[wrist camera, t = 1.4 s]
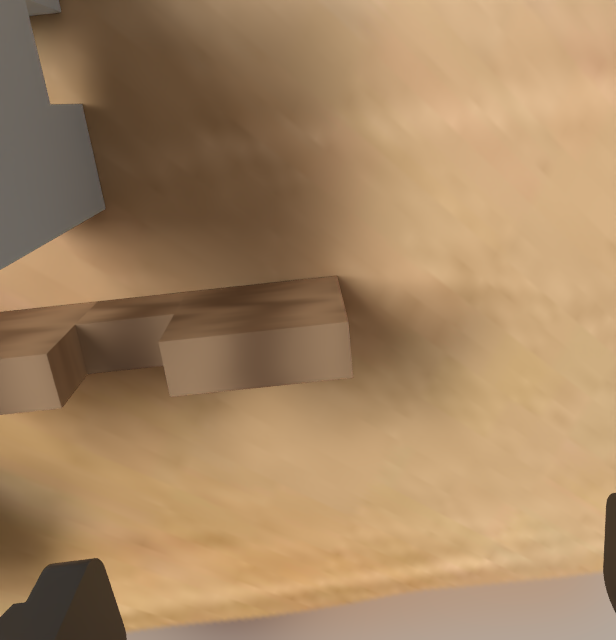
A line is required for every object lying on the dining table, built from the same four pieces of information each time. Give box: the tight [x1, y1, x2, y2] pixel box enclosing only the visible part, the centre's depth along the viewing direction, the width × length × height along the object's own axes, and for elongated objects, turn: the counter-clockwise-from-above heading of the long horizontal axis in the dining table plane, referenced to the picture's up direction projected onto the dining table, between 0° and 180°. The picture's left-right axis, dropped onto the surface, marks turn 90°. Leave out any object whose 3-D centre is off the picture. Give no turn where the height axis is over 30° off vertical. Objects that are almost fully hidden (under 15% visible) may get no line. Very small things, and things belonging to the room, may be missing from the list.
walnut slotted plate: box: [0, 276, 353, 415], centre depth 33 cm, size 24×3×8 cm, turn 96°
